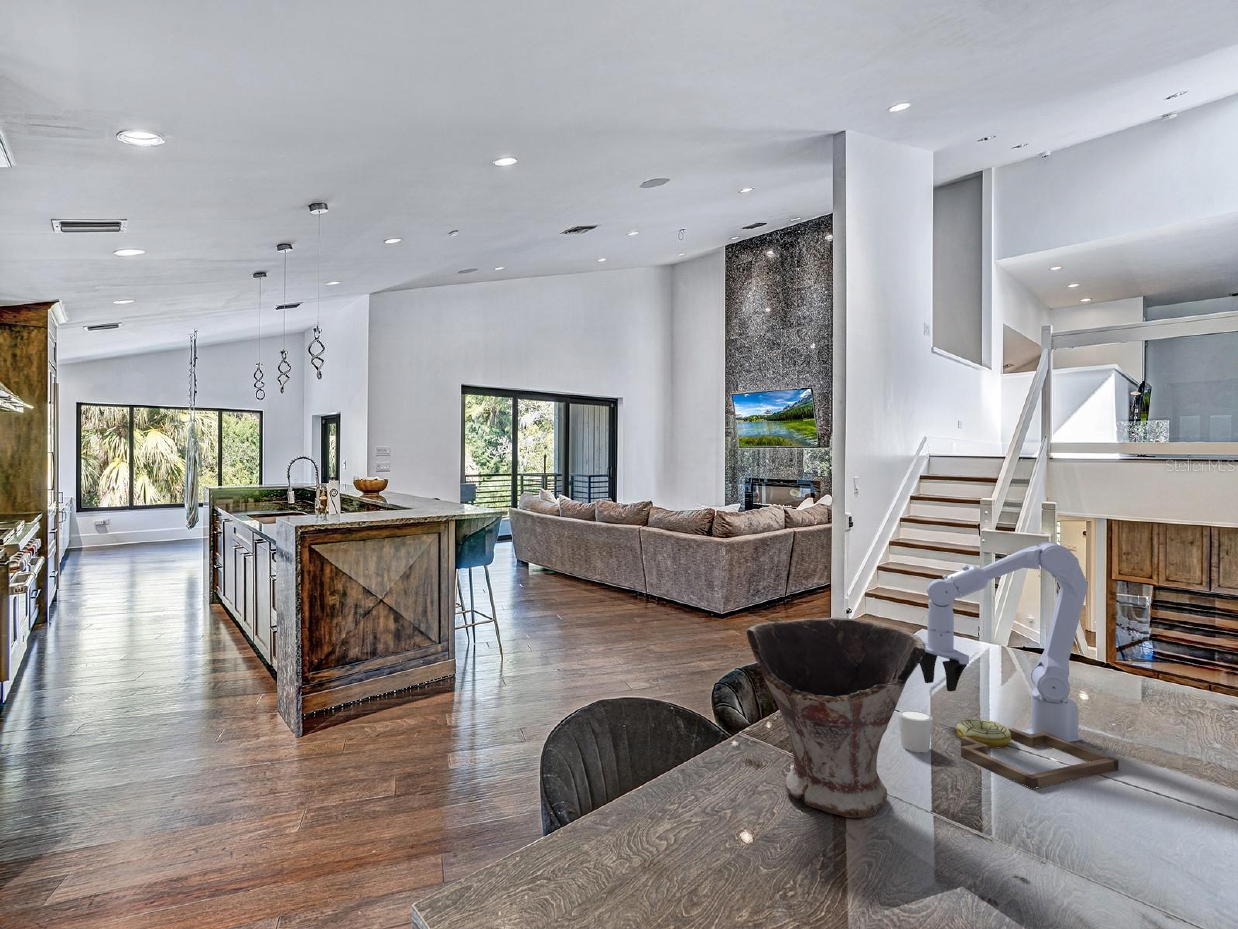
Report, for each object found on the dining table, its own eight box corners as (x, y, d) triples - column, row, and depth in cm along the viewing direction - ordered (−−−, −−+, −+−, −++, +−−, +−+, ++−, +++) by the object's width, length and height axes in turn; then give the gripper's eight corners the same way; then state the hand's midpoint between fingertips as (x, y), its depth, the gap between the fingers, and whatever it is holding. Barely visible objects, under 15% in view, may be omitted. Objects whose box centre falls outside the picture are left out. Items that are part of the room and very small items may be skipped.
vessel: (728, 771, 134) (730, 618, 134) (835, 751, 144) (837, 610, 145) (830, 848, 106) (833, 656, 107) (954, 816, 117) (955, 642, 117)
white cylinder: (936, 755, 143) (936, 722, 143) (901, 752, 144) (902, 719, 144) (928, 743, 150) (928, 711, 150) (895, 740, 151) (895, 708, 151)
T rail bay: (945, 749, 146) (945, 739, 146) (1026, 734, 156) (1026, 725, 156) (1032, 789, 128) (1032, 778, 128) (1118, 770, 137) (1118, 760, 137)
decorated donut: (953, 729, 159) (953, 713, 159) (1005, 736, 155) (1005, 719, 155) (960, 746, 149) (960, 729, 149) (1015, 753, 145) (1015, 735, 145)
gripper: (904, 624, 169) (904, 679, 168) (953, 638, 155) (952, 697, 155) (926, 622, 171) (925, 676, 171) (975, 635, 158) (975, 694, 158)
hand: (940, 686), depth 163 cm, fingers open, 6 cm apart
